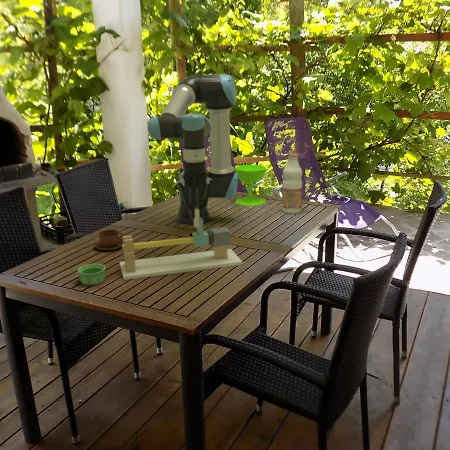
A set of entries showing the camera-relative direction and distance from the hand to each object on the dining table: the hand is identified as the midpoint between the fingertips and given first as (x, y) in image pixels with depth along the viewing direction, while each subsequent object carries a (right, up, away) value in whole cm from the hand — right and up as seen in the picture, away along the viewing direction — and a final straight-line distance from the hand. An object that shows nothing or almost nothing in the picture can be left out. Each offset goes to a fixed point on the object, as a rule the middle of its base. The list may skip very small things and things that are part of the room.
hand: (196, 226), depth 180 cm
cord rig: (-6, -14, +2) cm, 15 cm away
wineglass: (+23, +12, +83) cm, 87 cm away
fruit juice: (+42, +7, +65) cm, 78 cm away
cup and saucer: (-36, -9, +22) cm, 43 cm away
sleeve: (+1, -6, +2) cm, 7 cm away
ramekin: (-34, -18, -9) cm, 40 cm away
